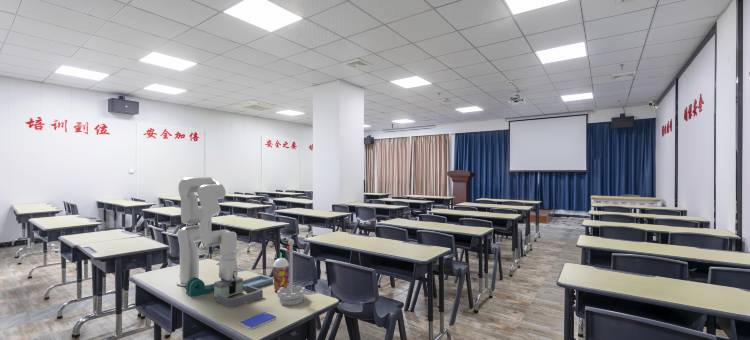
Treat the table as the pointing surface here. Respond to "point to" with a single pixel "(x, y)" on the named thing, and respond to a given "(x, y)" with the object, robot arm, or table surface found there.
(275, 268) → the smoothie
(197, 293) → the bracket
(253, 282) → the tray
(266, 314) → the hard drive
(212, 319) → the table surface
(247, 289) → the bay
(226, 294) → the gray rectangular block
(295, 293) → the flag stand
